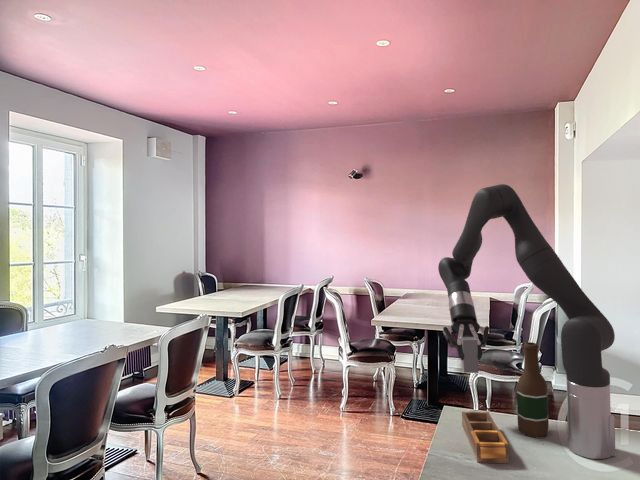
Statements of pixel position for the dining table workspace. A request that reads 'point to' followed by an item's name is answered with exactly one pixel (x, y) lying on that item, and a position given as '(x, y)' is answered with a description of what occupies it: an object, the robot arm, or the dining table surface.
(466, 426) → the bay rack
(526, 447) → the dining table surface
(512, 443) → the dining table surface
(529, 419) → the beer bottle
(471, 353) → the block
